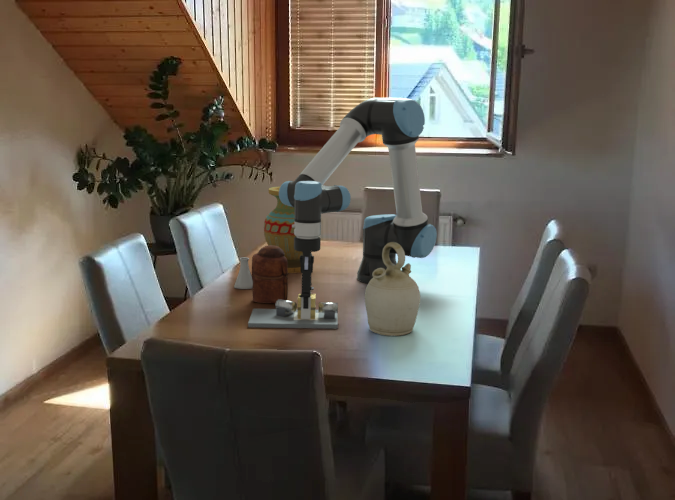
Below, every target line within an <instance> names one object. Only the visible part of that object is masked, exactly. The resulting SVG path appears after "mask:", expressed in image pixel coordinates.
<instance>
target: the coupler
mask: <svg viewBox="0 0 675 500" xmlns="http://www.w3.org/2000/svg"><path fill="white" fill-rule="evenodd" d="M299 295H301V293H298V295H297V310H298V319H301V297H299ZM316 295H317V294H316V293H311V315H310V319H315V310H317V309H316V307H317V305H316V302H317V300H316V298H317V297H316Z"/></svg>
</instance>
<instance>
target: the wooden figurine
mask: <svg viewBox="0 0 675 500" xmlns="http://www.w3.org/2000/svg"><path fill="white" fill-rule="evenodd" d="M284 255H285V253H284V252H283V250H282V249H281V248H279V247H278V246H275V245H268V244H267V245H264V246H263V247H261V248H260V249H259V250H258V252H257V253H255V254H253V256H252V258H251V276H252V280H253V286H252V288H251V289H252V301H253V302H255V303H259V304H260V303H261V304H274V305H276V301H277V300H278V299H281V300H286V301H288V297H289V296H288V295H289V294H288V293H289V292H288V291H289V289H288V285H289V282H288V281H289V279H288V277H287V276H288V274H289V273H288V269H287V263H288V262H287V259H286V257H284Z"/></svg>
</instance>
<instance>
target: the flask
mask: <svg viewBox="0 0 675 500" xmlns="http://www.w3.org/2000/svg"><path fill="white" fill-rule="evenodd" d="M249 260H250V257H246V256H245V257H244V256H243V257H242V256H241V257H239V261H240V266H239V267H240V268H239V271H238V274H237V276H236V280H235V283H234V287H233V288H234V289H237V290H238V289H239V290H249V289H250V290H251V289H252V286H253V280H252V272H251V270H250V267H249Z"/></svg>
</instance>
